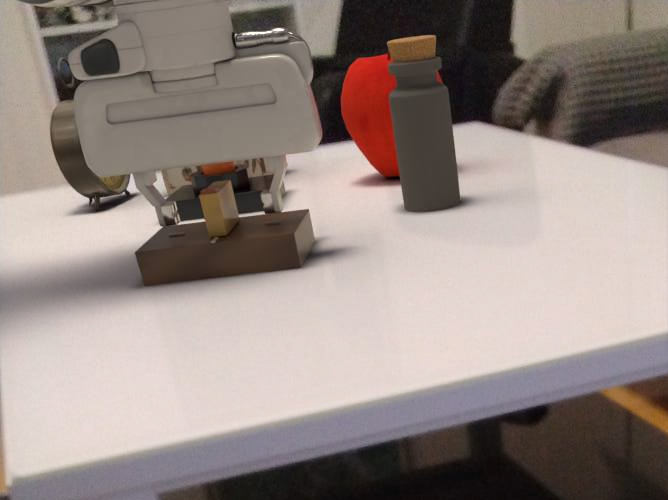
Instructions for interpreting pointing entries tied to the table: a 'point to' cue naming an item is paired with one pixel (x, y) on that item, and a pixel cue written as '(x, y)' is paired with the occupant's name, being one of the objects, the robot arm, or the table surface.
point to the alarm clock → (79, 153)
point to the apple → (371, 111)
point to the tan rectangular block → (219, 208)
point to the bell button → (218, 168)
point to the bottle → (422, 126)
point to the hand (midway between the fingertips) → (222, 218)
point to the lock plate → (226, 248)
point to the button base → (242, 186)
